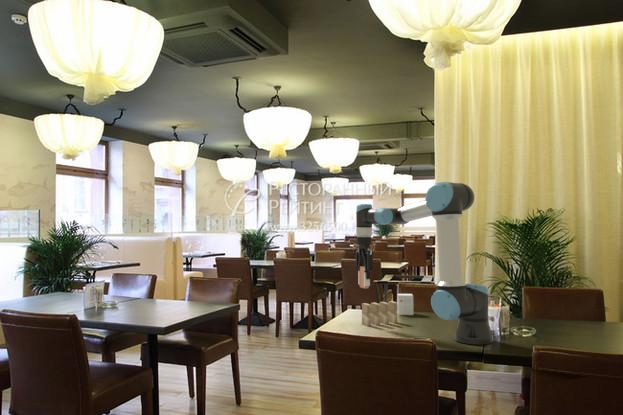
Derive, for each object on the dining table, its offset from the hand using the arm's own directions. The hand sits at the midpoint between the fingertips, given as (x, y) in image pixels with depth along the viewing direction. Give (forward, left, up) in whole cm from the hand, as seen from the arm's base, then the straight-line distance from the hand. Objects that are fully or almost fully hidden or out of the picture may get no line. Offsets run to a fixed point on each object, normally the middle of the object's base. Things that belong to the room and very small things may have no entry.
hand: (364, 285), depth 241 cm
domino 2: (0, -1, -19) cm, 19 cm away
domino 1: (0, 0, -1) cm, 1 cm away
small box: (+15, -34, -19) cm, 42 cm away
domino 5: (0, -16, -19) cm, 25 cm away
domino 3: (0, -6, -19) cm, 20 cm away
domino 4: (0, -11, -19) cm, 22 cm away
